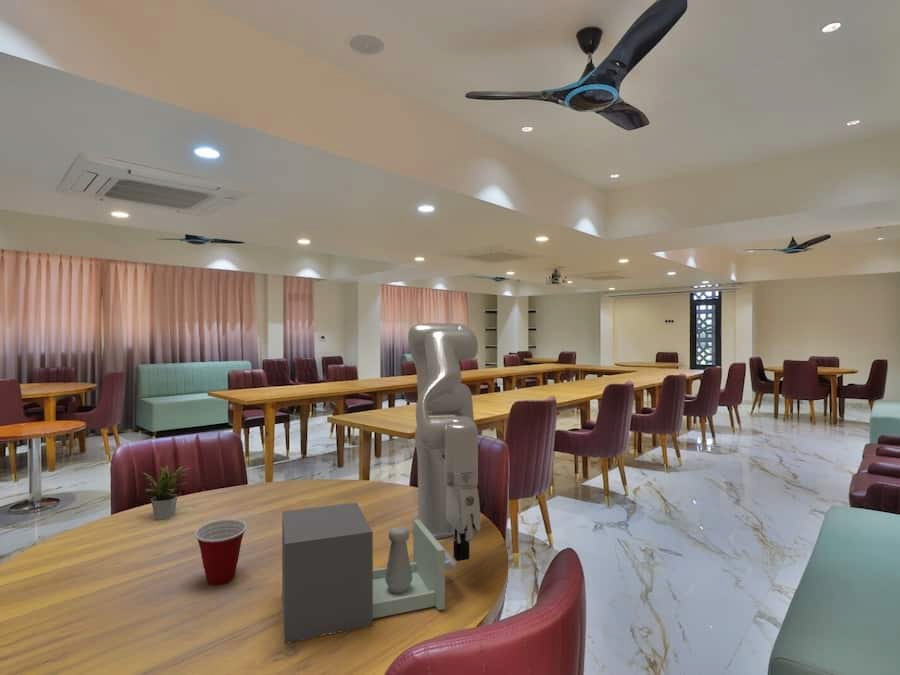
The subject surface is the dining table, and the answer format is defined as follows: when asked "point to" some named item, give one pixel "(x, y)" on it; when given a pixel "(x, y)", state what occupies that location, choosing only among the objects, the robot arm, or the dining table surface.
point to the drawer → (416, 578)
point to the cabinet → (326, 571)
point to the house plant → (164, 494)
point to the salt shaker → (398, 561)
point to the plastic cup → (220, 549)
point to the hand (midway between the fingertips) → (461, 558)
